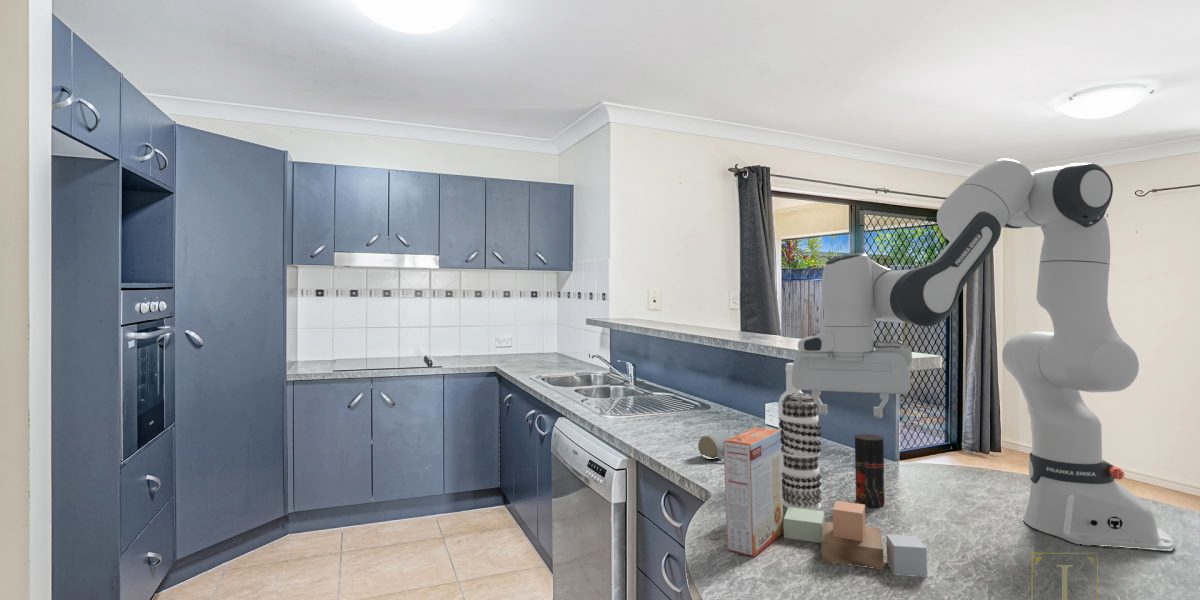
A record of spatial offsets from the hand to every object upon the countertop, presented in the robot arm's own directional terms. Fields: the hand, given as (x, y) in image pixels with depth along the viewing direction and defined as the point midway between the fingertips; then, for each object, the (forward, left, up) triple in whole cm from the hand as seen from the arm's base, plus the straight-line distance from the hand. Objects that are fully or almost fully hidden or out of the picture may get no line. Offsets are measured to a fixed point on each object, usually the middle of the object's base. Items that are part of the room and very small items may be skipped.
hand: (850, 415), depth 110 cm
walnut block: (0, +1, -26) cm, 26 cm away
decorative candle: (+12, -22, -25) cm, 36 cm away
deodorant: (-2, -29, -25) cm, 38 cm away
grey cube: (-9, +4, -25) cm, 27 cm away
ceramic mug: (+39, -52, -25) cm, 70 cm away
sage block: (+9, -5, -25) cm, 27 cm away
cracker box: (+17, +3, -25) cm, 31 cm away
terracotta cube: (0, +1, -22) cm, 22 cm away
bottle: (+16, -40, -25) cm, 50 cm away
